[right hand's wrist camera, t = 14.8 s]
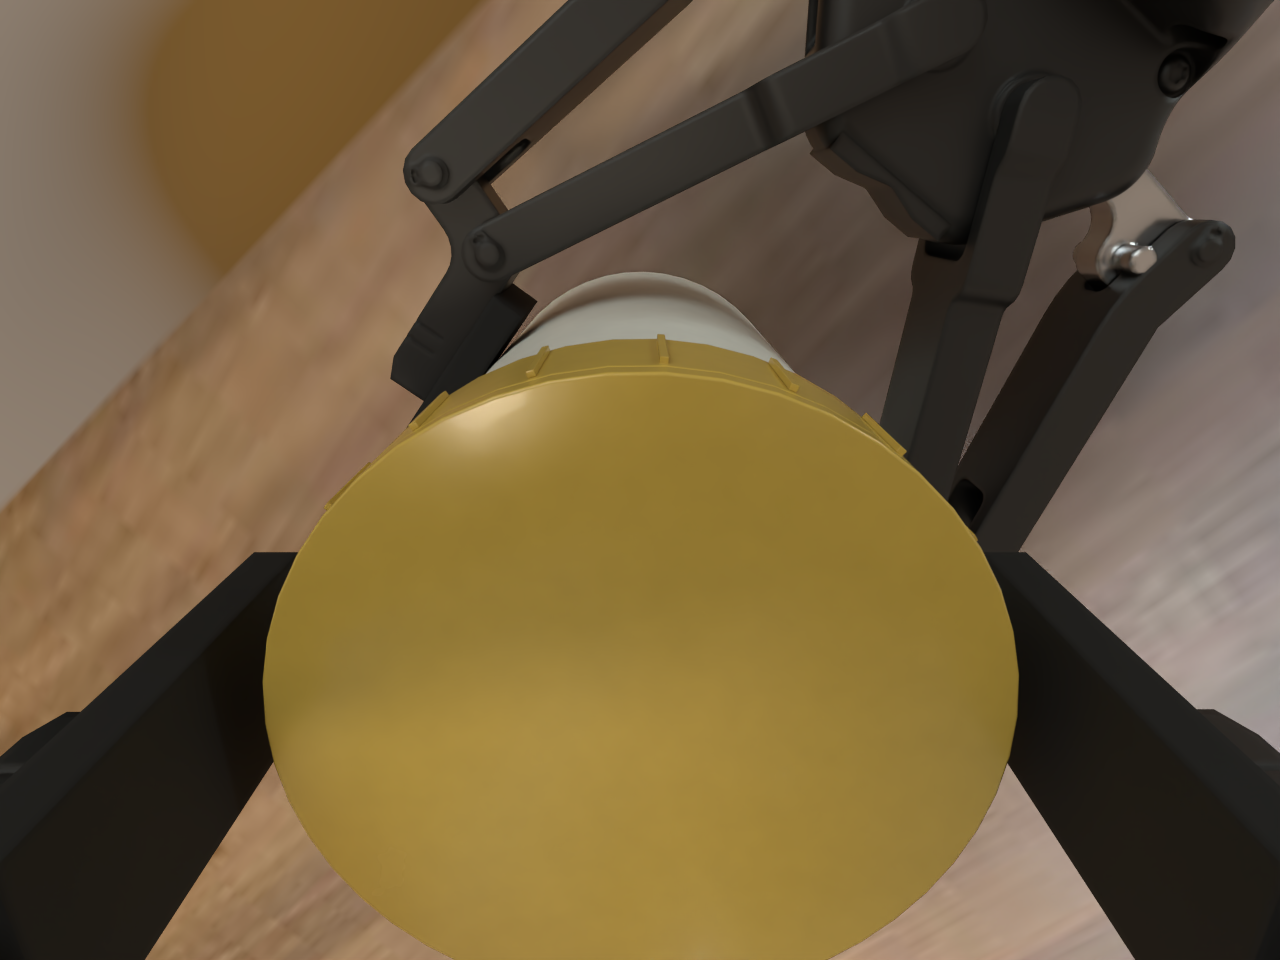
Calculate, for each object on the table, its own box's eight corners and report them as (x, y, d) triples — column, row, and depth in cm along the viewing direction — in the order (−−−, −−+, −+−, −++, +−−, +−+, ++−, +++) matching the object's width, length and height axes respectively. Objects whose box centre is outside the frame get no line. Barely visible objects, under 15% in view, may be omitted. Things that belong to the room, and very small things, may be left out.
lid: (671, 173, 10) (678, 167, 8) (1078, 670, 13) (1164, 763, 11) (193, 629, 12) (103, 717, 10) (620, 966, 15) (617, 1090, 13)
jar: (833, 346, 25) (1113, 563, 10) (705, 583, 28) (779, 1014, 13) (562, 220, 24) (432, 258, 9) (459, 483, 27) (234, 840, 12)
